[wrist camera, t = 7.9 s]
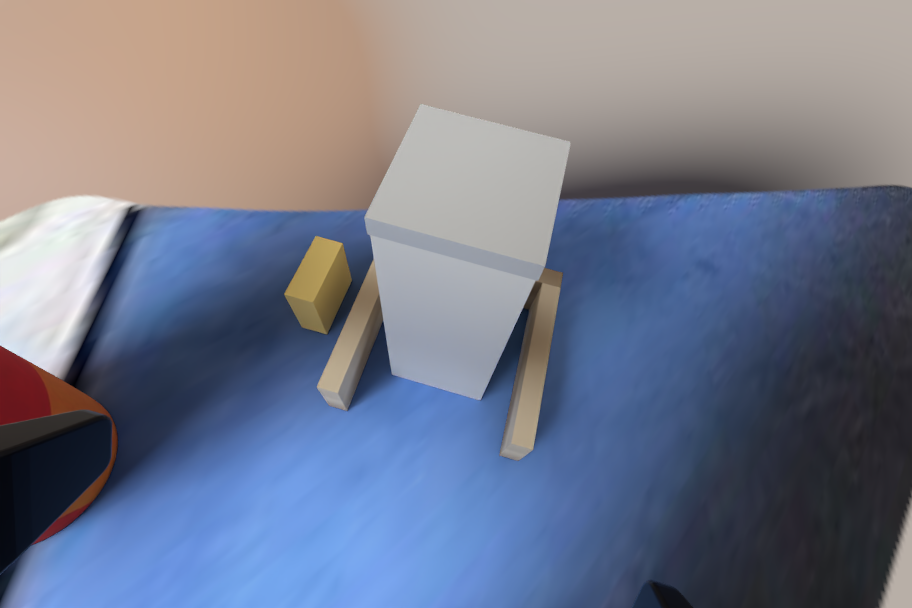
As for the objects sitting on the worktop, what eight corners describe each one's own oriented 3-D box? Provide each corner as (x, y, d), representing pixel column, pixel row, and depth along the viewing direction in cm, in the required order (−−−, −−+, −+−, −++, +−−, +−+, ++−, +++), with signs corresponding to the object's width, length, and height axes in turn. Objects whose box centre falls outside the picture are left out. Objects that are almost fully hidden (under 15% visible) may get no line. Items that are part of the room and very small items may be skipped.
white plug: (481, 402, 18) (545, 266, 9) (390, 375, 19) (364, 217, 9) (501, 320, 20) (570, 141, 11) (419, 297, 21) (420, 104, 11)
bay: (518, 461, 17) (532, 449, 15) (329, 405, 18) (316, 387, 16) (547, 300, 21) (563, 272, 19) (391, 257, 22) (388, 226, 19)
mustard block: (327, 334, 19) (313, 302, 17) (301, 327, 19) (283, 294, 17) (351, 280, 21) (342, 243, 18) (328, 273, 21) (315, 235, 18)
